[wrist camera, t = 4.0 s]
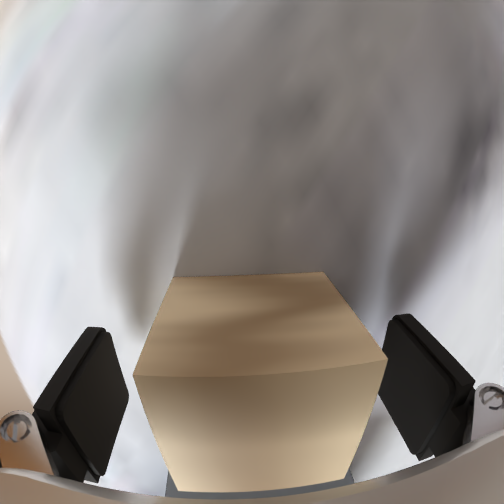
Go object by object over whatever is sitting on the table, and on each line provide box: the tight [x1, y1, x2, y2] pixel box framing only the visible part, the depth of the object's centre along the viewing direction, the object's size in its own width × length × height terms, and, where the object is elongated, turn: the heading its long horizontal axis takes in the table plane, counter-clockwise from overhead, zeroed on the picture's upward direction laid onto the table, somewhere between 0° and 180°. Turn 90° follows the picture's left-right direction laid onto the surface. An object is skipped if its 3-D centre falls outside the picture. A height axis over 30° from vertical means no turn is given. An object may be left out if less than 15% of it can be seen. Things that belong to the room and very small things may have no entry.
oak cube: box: [133, 272, 388, 492], centre depth 8 cm, size 5×5×5 cm
